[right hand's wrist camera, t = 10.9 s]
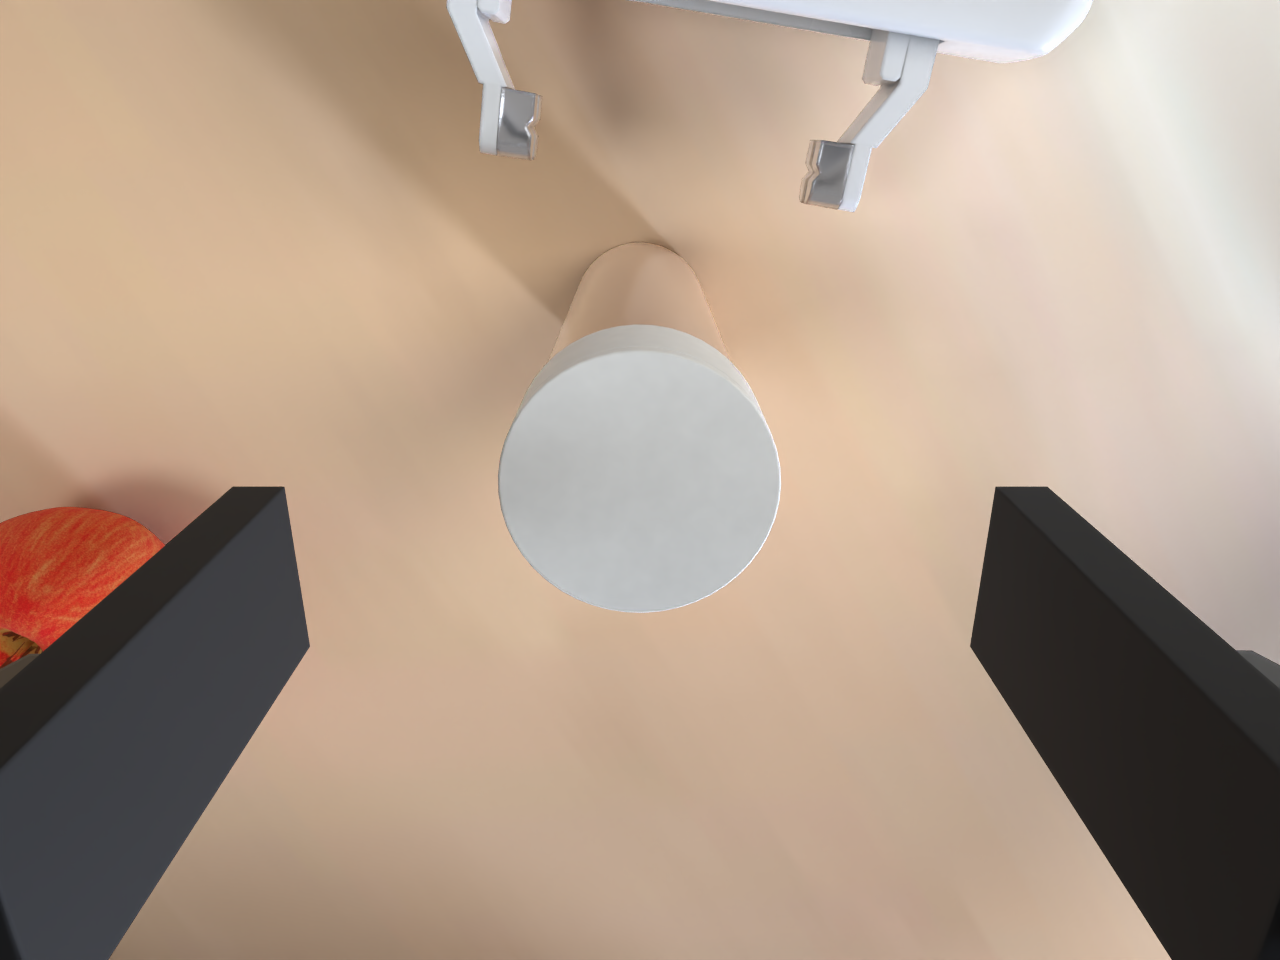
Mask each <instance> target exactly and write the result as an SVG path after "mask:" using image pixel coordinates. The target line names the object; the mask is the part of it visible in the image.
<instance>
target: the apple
mask: <svg viewBox="0 0 1280 960" xmlns="http://www.w3.org/2000/svg"><path fill="white" fill-rule="evenodd" d="M164 546H165V545H164V544H163V543H162V542H161V541H160V540H159V539H158V538H157V537H156V536H155V535H154V534H153V533H152V532H150V531H149V530H148V529H147V528H145V527H144V526H143V525H141V524H139V523H138V522H136V521H134V520H132V519H130V518H128V517H125V516H123V515H120V514H117V513H113V512H109V511H104V510H98V509H89V508H80V507H58V508H51V509H45V510H40V511H36V512H31V513H27V514H23V515H20V516H17V517H14V518H11V519H9V520H6V521H4V522H2V523H0V669H1V668H3V667H5V666H7V665H9V664H11V663H12V662H14V661H16V660H18V659H20V658H22V657H24V656H26V655H28V654H41V653H42V652H43V651H44V650H45V649H46V648H48V647H49V646H50V645H51V644H52V643H53V642H55V641H56V640H57V639H58V638H59V637H60V636H61V635H63V634H64V633H65V632H66V631H67V630H68V629H70V628H71V627H72V626H73V625H74V624H75V623H76V622H78V621H79V620H80V619H81V618H82V617H83V616H85V615H86V614H87V613H88V612H89V611H90V610H91V609H93V608H94V607H95V606H96V605H97V604H98V603H99V602H101V601H102V600H103V599H104V598H105V597H106V596H108V595H109V594H110V593H111V592H112V591H113V590H114V589H116V588H117V587H118V586H119V585H120V584H121V583H123V582H124V581H125V580H126V579H127V578H128V577H129V576H131V575H132V574H133V573H134V572H135V571H136V570H137V569H139V568H140V567H141V566H142V565H143V564H144V563H146V562H147V561H148V560H149V559H150V558H151V557H152V556H154V555H155V554H156V553H157V552H158V551H159V550H161V549H162V548H163V547H164Z"/></svg>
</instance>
